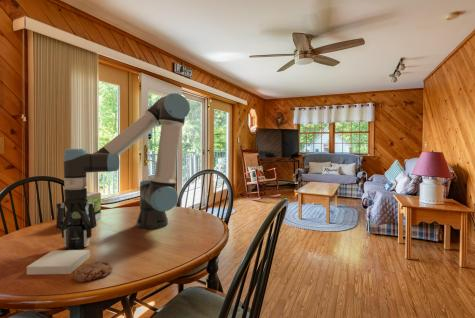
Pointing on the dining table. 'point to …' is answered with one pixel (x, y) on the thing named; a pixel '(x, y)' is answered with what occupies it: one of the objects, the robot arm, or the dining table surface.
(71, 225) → the supplement bottle
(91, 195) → the tea box
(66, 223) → the robot arm
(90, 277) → the cookie
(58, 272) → the ceramic tile
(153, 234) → the dining table surface
